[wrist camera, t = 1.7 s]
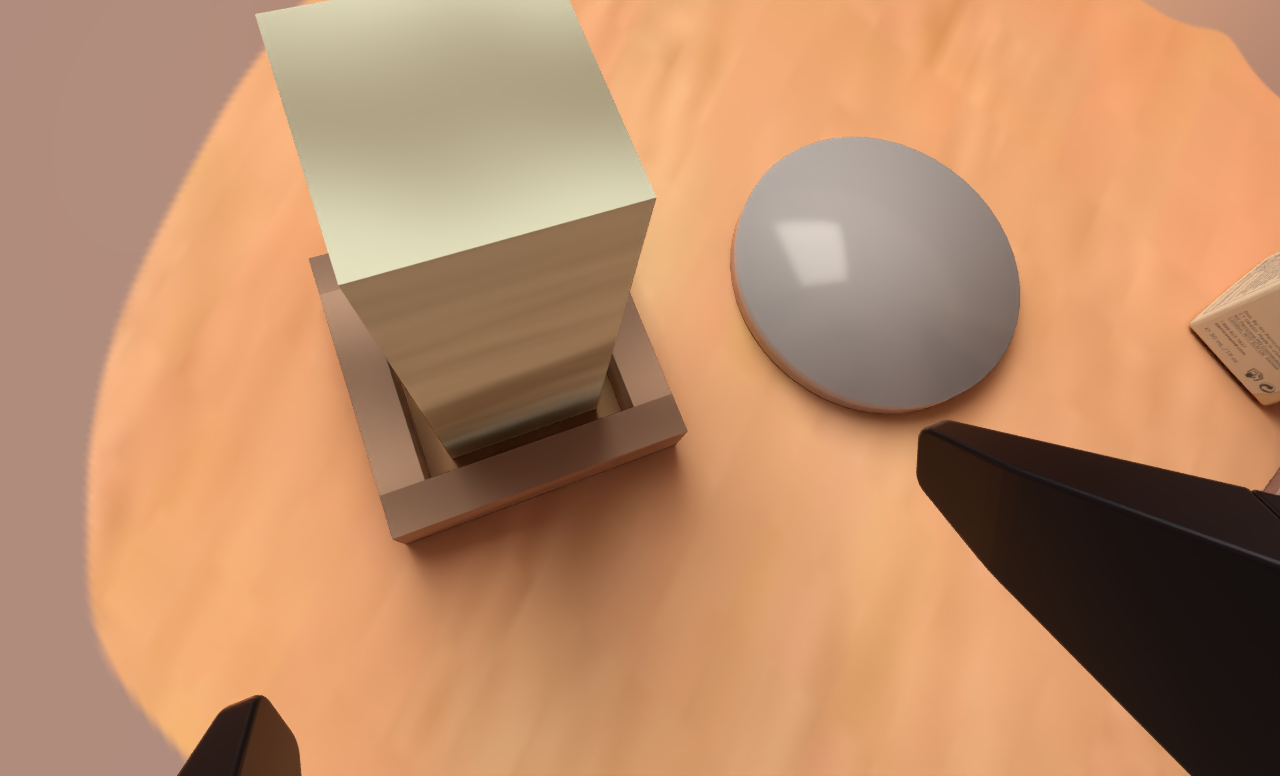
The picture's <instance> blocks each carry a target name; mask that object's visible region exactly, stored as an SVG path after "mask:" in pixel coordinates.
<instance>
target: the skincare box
mask: <svg viewBox="0 0 1280 776" xmlns="http://www.w3.org/2000/svg"><path fill="white" fill-rule="evenodd" d="M1190 327H1191V328H1192V329H1193V330H1194V331H1195V332H1196V333H1197V334H1198V336H1199V337H1200V338H1201V339H1202V340H1203V341H1204V342H1205V343H1206V344H1207V346H1208V347H1209V348H1210V349H1211V350H1212V351H1213V352H1214V353H1215V354H1216V356H1217V357H1218V358H1219V359H1220V360H1221V361H1222V362H1223V363H1224V364H1225V365H1226V367H1227V368H1228V369H1229V370H1230V371H1231V372H1232V373H1233V374H1234V375H1235V376H1236V377H1237V378H1238V379H1239V380H1240V382H1241V383H1242V384H1243V385H1244V386H1245V387H1246V388H1247V389H1248V390H1249V391H1250V392H1251V393H1252V394H1253V395H1254V396H1255V397H1256V399H1257V400H1258V401H1259V402H1260V403H1261V404H1262V405H1264V406H1267V405H1272V404H1275V403H1279V402H1280V252H1278V253H1276V254H1274V255H1272V256H1270V257H1268V258H1266V259H1265V260H1264V261H1262V262H1261V263H1260V264H1258V265H1257V266H1256V267H1255V268H1253V269H1252V270H1251V271H1249V272H1248V273H1247V274H1246V275H1245V276H1243V277H1242V278H1241V279H1240V280H1238V281H1237V282H1236V283H1235V284H1234V285H1232V286H1231V287H1230V288H1229V289H1228V290H1227V291H1225V292H1224V293H1223V294H1222V295H1221V296H1219V297H1218V298H1217V299H1216V300H1215V301H1214V302H1212V303H1211V304H1210V305H1209V306H1208V307H1207V308H1206V309H1204V310H1203V311H1202V312H1201V313H1200V314H1199V315H1198V316H1197V317H1196V318H1195V319H1194V320H1193V321H1192V322H1191V323H1190Z"/></svg>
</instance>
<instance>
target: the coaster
mask: <svg viewBox="0 0 1280 776" xmlns="http://www.w3.org/2000/svg"><path fill="white" fill-rule="evenodd" d="M730 268H731V277H732V285H733V289H734V293H735V297H736V301H737V304H738V306H739V309H740V311H741V314H742V316H743V319H744V321H745V323H746V324H747V326H748V328H749V330H750V332H751V333H752V335H753V337H754V338H755V340H756V341H757V342H758V344H759V345H760V347H761V348H762V349H763V351H764V352H765V353H766V354H767V355H768V356H769V358H770V359H771V360H772V361H773V362H774V363H775V364H776V365H777V366H778V367H779V368H780V369H781V370H782V371H783V372H785V373H786V374H787V375H788V376H789V377H791V378H792V379H793V380H794V381H796V382H797V383H799V384H800V385H802V386H803V387H805V388H806V389H808V390H809V391H811V392H813V393H814V394H816V395H818V396H820V397H822V398H824V399H826V400H828V401H831V402H834V403H836V404H839V405H842V406H845V407H847V408H852V409H856V410H860V411H865V412H873V413H883V414H890V413H907V412H912V411H918V410H923V409H926V408H929V407H932V406H935V405H938V404H940V403H942V402H944V401H946V400H948V399H950V398H952V397H954V396H956V395H958V394H960V393H962V392H964V391H966V390H968V389H970V388H971V387H972V386H974V385H975V384H977V383H978V382H979V381H981V380H982V379H983V378H984V377H985V376H986V375H987V374H988V373H989V372H990V371H991V370H992V369H993V368H994V367H995V366H996V365H997V363H998V362H999V360H1000V359H1001V358H1002V356H1003V355H1004V353H1005V352H1006V350H1007V348H1008V346H1009V344H1010V342H1011V340H1012V337H1013V334H1014V331H1015V328H1016V324H1017V320H1018V314H1019V307H1020V285H1019V276H1018V270H1017V266H1016V262H1015V258H1014V254H1013V252H1012V249H1011V246H1010V244H1009V241H1008V238H1007V236H1006V235H1005V233H1004V231H1003V229H1002V227H1001V225H1000V223H999V221H998V220H997V218H996V217H995V215H994V214H993V212H992V211H991V209H990V208H989V206H988V205H987V204H986V203H985V202H984V200H983V199H982V198H981V197H980V196H979V194H978V193H977V192H976V191H975V190H974V189H973V188H972V187H971V186H970V185H969V184H968V183H967V182H965V181H964V180H963V179H962V178H961V177H959V176H958V175H957V174H956V173H954V172H953V171H952V170H951V169H949V168H948V167H946V166H945V165H943V164H941V163H940V162H938V161H937V160H935V159H933V158H931V157H929V156H927V155H925V154H924V153H922V152H920V151H917V150H915V149H912V148H909V147H907V146H904V145H902V144H898V143H894V142H890V141H886V140H881V139H874V138H867V137H843V138H833V139H828V140H823V141H819V142H815V143H813V144H810V145H807V146H804V147H802V148H800V149H798V150H796V151H794V152H792V153H790V154H788V155H787V156H785V157H784V158H783V159H781V160H780V161H779V162H777V163H776V164H775V165H773V166H772V167H771V168H770V169H769V171H768V172H767V173H766V174H765V175H764V176H763V177H762V178H761V179H760V181H759V182H758V184H757V185H756V186H755V188H754V189H753V191H752V193H751V195H750V197H749V199H748V201H747V203H746V205H745V206H744V208H743V210H742V212H741V214H740V216H739V218H738V221H737V224H736V227H735V230H734V234H733V239H732V245H731V260H730Z"/></svg>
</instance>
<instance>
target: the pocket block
mask: <svg viewBox="0 0 1280 776" xmlns="http://www.w3.org/2000/svg"><path fill="white" fill-rule="evenodd" d="M309 261H310V265H311V268H312V271H313V275H314V278H315V282H316V285H317V288H318V292H319V295H320V298H321V302H322V305H323V308H324V312H325V315H326V318H327V322H328V325H329V328H330V332H331V335H332V338H333V342H334V345H335V348H336V352H337V355H338V358H339V362H340V365H341V369H342V372H343V375H344V379H345V382H346V385H347V389H348V392H349V395H350V399H351V402H352V405H353V409H354V412H355V415H356V419H357V422H358V425H359V429H360V432H361V435H362V439H363V442H364V445H365V449H366V452H367V456H368V459H369V462H370V466H371V469H372V472H373V476H374V479H375V482H376V486H377V489H378V492H379V496H380V499H381V502H382V506H383V509H384V512H385V516H386V519H387V522H388V526H389V529H390V533H391V536H392V539H393V540H396V541H399V542H401V543H404V544H408V543H411V542H414V541H416V540H419V539H422V538H424V537H427V536H430V535H433V534H435V533H438V532H441V531H443V530H446V529H449V528H452V527H454V526H457V525H460V524H462V523H465V522H468V521H470V520H473V519H476V518H479V517H481V516H484V515H487V514H489V513H492V512H495V511H498V510H500V509H503V508H506V507H508V506H511V505H514V504H517V503H519V502H522V501H525V500H527V499H530V498H533V497H535V496H538V495H541V494H544V493H546V492H549V491H552V490H554V489H557V488H560V487H563V486H565V485H568V484H571V483H573V482H576V481H579V480H582V479H584V478H587V477H590V476H592V475H595V474H598V473H601V472H603V471H606V470H609V469H611V468H614V467H617V466H619V465H622V464H625V463H628V462H630V461H633V460H636V459H638V458H641V457H644V456H647V455H649V454H652V453H655V452H657V451H660V450H663V449H666V448H668V447H671V446H674V445H676V444H677V443H678V442H679V440H680V439H681V438H682V437H683V436H684V435H685V434H686V432H687V429H686V427H685V424H684V422H683V419H682V417H681V415H680V412H679V410H678V407H677V405H676V403H675V400H674V398H673V395H672V393H671V391H670V388H669V386H668V383H667V381H666V378H665V376H664V374H663V371H662V369H661V366H660V364H659V362H658V359H657V357H656V354H655V352H654V350H653V347H652V345H651V342H650V340H649V338H648V335H647V333H646V330H645V328H644V326H643V323H642V321H641V318H640V316H639V314H638V311H637V309H636V306H635V304H634V302H633V299H632V297H631V294H630V292H629V296H628V299H627V303H626V306H625V310H624V313H623V317H622V320H621V324H620V327H619V331H618V334H617V338H616V341H615V345H614V348H613V352H612V355H611V359H610V362H609V366H608V369H607V374H608V377H609V379H610V382H611V384H612V387H613V389H614V392H615V394H616V397H617V399H618V402H619V404H620V407H621V410H622V411H621V412H618V413H615V414H612V415H609V416H607V417H604V418H601V419H598V420H595V421H592V422H589V423H587V424H584V425H581V426H578V427H575V428H572V429H569V430H567V431H564V432H561V433H558V434H555V435H552V436H549V437H547V438H544V439H541V440H538V441H535V442H532V443H529V444H527V445H524V446H521V447H518V448H515V449H512V450H509V451H507V452H504V453H501V454H498V455H495V456H492V457H489V458H487V459H484V460H481V461H478V462H475V463H472V464H469V465H467V466H464V467H461V468H458V469H455V470H452V471H449V472H447V473H444V474H441V475H438V476H435V477H432V478H431V476H430V473H429V470H428V467H427V464H426V461H425V458H424V455H423V451H422V448H421V445H420V442H419V439H418V436H417V433H416V429H415V426H414V423H413V420H412V417H411V414H410V411H409V407H408V404H407V401H406V398H405V395H404V392H403V389H402V385H401V382H400V379H399V377H398V376H397V374H396V372H395V371H394V369H393V368H392V366H391V365H390V363H389V362H388V360H387V359H386V357H385V356H384V354H383V353H382V351H381V350H380V348H379V347H378V345H377V344H376V342H375V340H374V339H373V337H372V336H371V334H370V333H369V331H368V330H367V328H366V327H365V325H364V324H363V322H362V321H361V319H360V318H359V316H358V315H357V313H356V312H355V310H354V308H353V307H352V305H351V304H350V302H349V301H348V299H347V298H346V296H345V295H344V293H343V292H342V290H341V289H340V287H339V286H338V283H337V279H336V276H335V273H334V270H333V266H332V263H331V260H330V257H329V253H328V254H324V255H320V256H317V257H313V258H309Z"/></svg>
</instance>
